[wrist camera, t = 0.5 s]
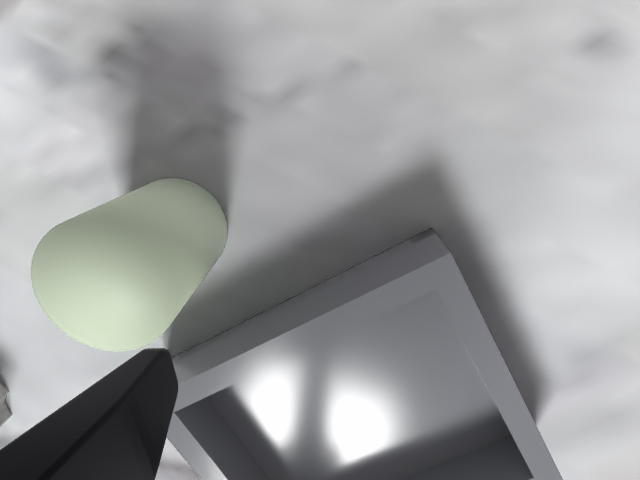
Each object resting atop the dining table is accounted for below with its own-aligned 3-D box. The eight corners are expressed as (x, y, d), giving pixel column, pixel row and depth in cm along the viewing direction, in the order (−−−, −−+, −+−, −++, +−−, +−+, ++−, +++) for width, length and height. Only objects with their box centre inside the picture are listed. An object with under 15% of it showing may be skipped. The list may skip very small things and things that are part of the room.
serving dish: (293, 525, 27) (288, 584, 24) (166, 360, 23) (139, 403, 20) (533, 432, 24) (565, 485, 21) (431, 227, 20) (451, 252, 17)
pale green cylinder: (166, 290, 22) (94, 372, 15) (107, 208, 21) (0, 260, 14) (246, 246, 21) (206, 314, 14) (190, 159, 20) (117, 188, 13)
